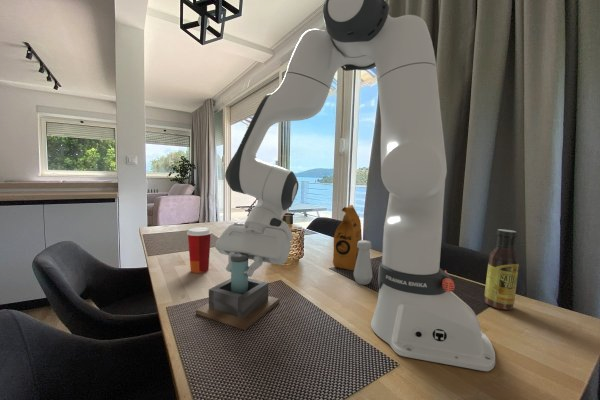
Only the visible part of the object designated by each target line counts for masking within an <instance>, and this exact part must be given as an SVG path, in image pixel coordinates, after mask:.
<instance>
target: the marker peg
mask: <svg viewBox="0 0 600 400" xmlns="http://www.w3.org/2000/svg"><path fill="white" fill-rule="evenodd" d="M246 266H248V267H249V259H248V254H243V253H237V254H233V255H231V272H230V279H231V292H234V293H238V294H241V295H243V294H244V293H246V292H247V291H248V278H249V276H246V275H245V274H244V270H245V268H246Z"/></svg>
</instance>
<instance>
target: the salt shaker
mask: <svg viewBox="0 0 600 400" xmlns="http://www.w3.org/2000/svg"><path fill="white" fill-rule="evenodd" d="M357 248H359V252H358V256H357V261H356V265H355V269H354V270H353V278H354V281H355V282H356V284H359V285H363V286H364V285H365V286H366V285H369V284H370V283H371V281H372V279H373V269H372V268H373V267H372V261H371V260H372V259H371V253H370V250H371V249H372V242H371V241H370V240H365V239H362V240H360V241H358V243H357Z"/></svg>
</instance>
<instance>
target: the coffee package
mask: <svg viewBox="0 0 600 400" xmlns="http://www.w3.org/2000/svg"><path fill="white" fill-rule="evenodd" d="M341 212H343V213H345V214H344V215H343V217H342V220H341V222H340V224H339V225H338V226H337V228H336V229H335V232H334V235H333V255H332V256H333V258H332V264H333V266H334V267H335V268H339V269H342V270H343V269H345V270H347V271H354V269H355V265H356V261H357V256H358V252H359V248H357V243H358V241H360V240H363V239H362V238H363V237H362V223H361V222H362V221H361V218H360V216H359V215H358V213H357V210H356V209H355V207H354V205H353V204H350V205H349V206H347V207H346V206H343V208H342V209H341Z"/></svg>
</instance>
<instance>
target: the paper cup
mask: <svg viewBox="0 0 600 400" xmlns="http://www.w3.org/2000/svg"><path fill="white" fill-rule="evenodd" d="M212 233H213V232H212V231H211V229H210V228H209V227H192V228H190V229H188V230H187V233H186V235H187V239H188V240H187V242H188V251H189V253H188V254H189V267H190V272H191V273H193V274H202V273H206V272H208V271H209V270H210V269H209V267H210V251H211V249H210V248H211V235H212Z"/></svg>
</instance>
